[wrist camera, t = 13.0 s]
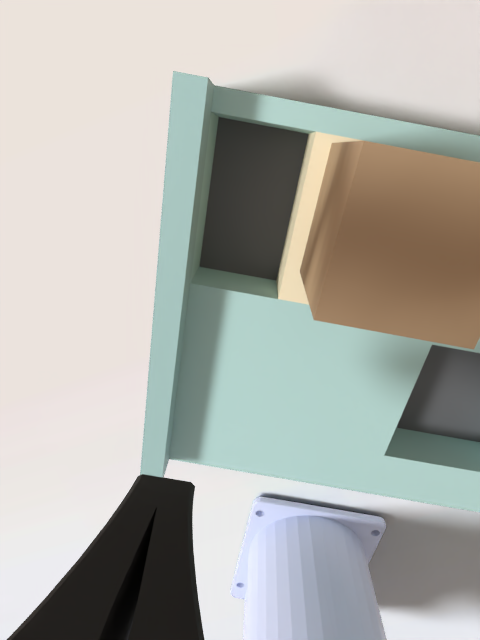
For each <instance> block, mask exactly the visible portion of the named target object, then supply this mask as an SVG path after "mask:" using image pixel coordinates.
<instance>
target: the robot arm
mask: <svg viewBox="0 0 480 640" xmlns="http://www.w3.org/2000/svg"><path fill="white" fill-rule="evenodd" d="M194 490H195V486H194V485H193V484H192V483H191V482H186V481H180V480H174V479H169V478H163V477H157V476H151V475H145V474H142V475H140V476H138V477H137V479H136V480H135V482H134V484H133V486H132V487H131V489H130V490H129V492H128V493H127V495H126V497H125V498H124V500H123V501H122V503H121V504H120V505H119V507H118V508H117V510H116V511H115V512H114V514H113V515H112V517H111V518H110V519H109V521H108V522H107V524H106V525H105V526H104V528H103V529H102V530H101V531H100V533H99V534H98V535H97V537H96V538H95V539H94V540H93V542H92V543H91V544H90V546H89V547H88V548H87V549H86V551H85V552H84V553H83V555H82V556H81V557H80V558H79V559H78V561H77V562H76V563H75V564H74V565H73V567H72V568H71V569H70V570H69V571H68V572H67V574H66V575H65V576H64V577H63V578H62V579H61V581H60V582H59V583H58V584H57V585H56V586H55V588H54V589H53V590H52V591H51V592H50V593H49V595H48V596H47V597H46V598H45V599H44V600H43V601H42V603H41V604H40V605H39V606H38V607H37V608H36V609H35V610H34V611H33V612H32V614H31V615H30V616H29V617H28V618H27V619H26V620H25V621H24V622H23V623H22V624H21V625H20V626H19V628H18V629H17V630H16V631H15V632H14V633H13V634H12V635H11V636H10V637H9V638H8V639H7V640H204V635H203V629H202V622H201V615H200V609H199V602H198V594H197V585H196V575H195V564H194V553H193V534H192V509H193V496H194ZM260 510H261V511H260ZM385 529H386V523H385V520H384V519H383V518H382V517H379V516H373V515H367V514H361V513H355V512H349V511H344V510H338V509H332V508H326V507H320V506H314V505H308V504H303V503H297V502H291V501H285V500H279V499H273V498H267V497H257V498H256V499H255V500H254V501H253V505H252V509H251V513H250V517H249V520H248V524H247V528H246V532H245V536H244V540H243V543H242V547H241V551H240V555H239V559H238V563H237V567H236V570H235V574H234V578H233V582H232V586H231V595H232V596H233V597H235V598H239V599H245V609H244V632H243V640H387V639H386V635H385V631H384V627H383V623H382V619H381V615H380V611H379V607H378V603H377V599H376V595H375V591H374V587H373V583H372V579H371V575H370V571H369V567H368V564H369V562H370V560H371V558H372V556H373V554H374V552H375V550H376V548H377V546H378V544H379V542H380V540H381V537H382V535H383V533H384V531H385Z"/></svg>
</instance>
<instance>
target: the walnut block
mask: <svg viewBox="0 0 480 640" xmlns="http://www.w3.org/2000/svg"><path fill="white" fill-rule="evenodd" d="M300 274H301V278H302V281H303V285H304V288H305V292H306V295H307V299H308V302H309V306H310V309H311V313H312V316H313V320H316V321H321V322H327V323H332V324H338V325H343V326H348V327H354V328H359V329H365V330H370V331H376V332H381V333H387V334H392V335H397V336H403V337H408V338H414V339H419V340H425V341H430V342H436V343H441V344H447V345H452V346H457V347H463V348H468V349H474V348H475V346H476V344H477V342H478V340H479V338H480V163H477V162H471V161H466V160H461V159H456V158H451V157H446V156H440V155H435V154H430V153H425V152H420V151H414V150H409V149H404V148H399V147H394V146H389V145H383V144H378V143H373V142H368V141H353V142H339V143H332V144H331V148H330V152H329V156H328V160H327V164H326V168H325V172H324V176H323V180H322V184H321V188H320V192H319V196H318V200H317V204H316V208H315V212H314V216H313V220H312V224H311V228H310V232H309V236H308V240H307V244H306V248H305V252H304V256H303V260H302V264H301V268H300Z"/></svg>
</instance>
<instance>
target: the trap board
mask: <svg viewBox="0 0 480 640" xmlns="http://www.w3.org/2000/svg"><path fill="white" fill-rule="evenodd" d="M353 141H368V142H373V143H378V144H383V145H389V146H394V147H399V148H404V149H409V150H414V151H420V152H425V153H430V154H435V155H440V156H446V157H451V158H456V159H461V160H466V161H471V162H477V163H480V136H478V135H473V134H468V133H463V132H457V131H452V130H447V129H442V128H436V127H431V126H426V125H420V124H415V123H410V122H405V121H399V120H394V119H389V118H383V117H378V116H373V115H368V114H362V113H357V112H352V111H346V110H341V109H336V108H331V107H325V106H320V105H315V104H310V103H304V102H299V101H294V100H288V99H283V98H278V97H273V96H267V95H262V94H257V93H251V92H246V91H241V90H236V89H230V88H225V87H220V86H215V85H214V84H213V83H212V82H211V81H210V79H209V78H207V77H202V76H197V75H192V74H186V73H181V72H176V71H173V80H172V92H171V105H170V117H169V129H168V141H167V154H166V166H165V178H164V190H163V203H162V215H161V227H160V239H159V252H158V264H157V276H156V288H155V301H154V313H153V325H152V338H151V350H150V362H149V374H148V387H147V399H146V411H145V423H144V436H143V448H142V460H141V472H140V475H142V474H145V475H151V476H157V477H164V474H165V471H166V467H167V464H168V461H169V459H172V460H178V461H184V462H189V463H195V464H201V465H207V466H213V467H219V468H224V469H230V470H236V471H242V472H248V473H253V474H259V475H265V476H271V477H277V478H283V479H288V480H294V481H300V482H306V483H312V484H318V485H323V486H329V487H335V488H341V489H347V490H352V491H358V492H364V493H370V494H376V495H382V496H387V497H393V498H399V499H405V500H411V501H417V502H422V503H428V504H434V505H440V506H446V507H451V508H457V509H463V510H469V511H475V512H480V338H479V340H478V342H477V344H476V346H475V348H474V349H468V348H463V347H457V346H452V345H447V344H441V343H436V342H430V341H425V340H419V339H414V338H408V337H403V336H397V335H392V334H387V333H381V332H376V331H370V330H365V329H359V328H354V327H348V326H343V325H338V324H332V323H327V322H321V321H316V320H313V316H312V313H311V309H310V306H309V302H308V299H307V295H306V292H305V288H304V285H303V281H302V278H301V274H300V268H301V264H302V260H303V256H304V252H305V248H306V244H307V240H308V236H309V232H310V228H311V224H312V220H313V216H314V212H315V208H316V204H317V200H318V196H319V192H320V188H321V184H322V180H323V176H324V172H325V168H326V164H327V160H328V156H329V152H330V148H331V144H332V143H339V142H353Z"/></svg>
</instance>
